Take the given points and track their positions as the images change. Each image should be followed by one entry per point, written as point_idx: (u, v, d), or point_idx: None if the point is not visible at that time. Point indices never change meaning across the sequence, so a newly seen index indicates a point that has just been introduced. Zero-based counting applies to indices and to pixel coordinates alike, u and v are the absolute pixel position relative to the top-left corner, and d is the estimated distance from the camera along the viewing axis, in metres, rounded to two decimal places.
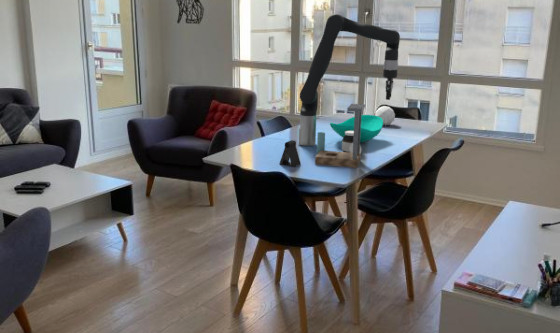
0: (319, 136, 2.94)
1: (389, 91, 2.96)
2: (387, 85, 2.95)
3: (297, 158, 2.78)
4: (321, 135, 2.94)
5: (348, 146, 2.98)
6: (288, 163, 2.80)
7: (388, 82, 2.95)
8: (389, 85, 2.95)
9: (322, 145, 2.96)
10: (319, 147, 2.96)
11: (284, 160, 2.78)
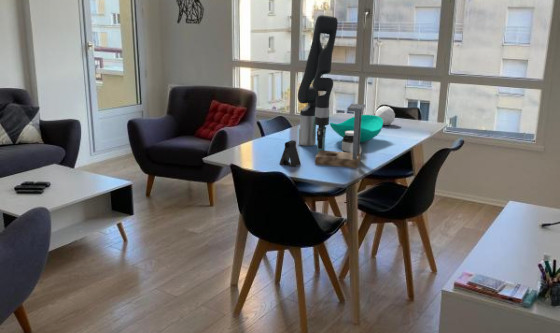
0: None
1: (320, 140, 2.92)
2: (318, 135, 2.90)
3: (297, 158, 2.78)
4: None
5: (348, 146, 2.98)
6: (288, 163, 2.80)
7: (318, 133, 2.89)
8: (320, 135, 2.90)
9: (322, 145, 2.96)
10: None
11: (284, 160, 2.78)
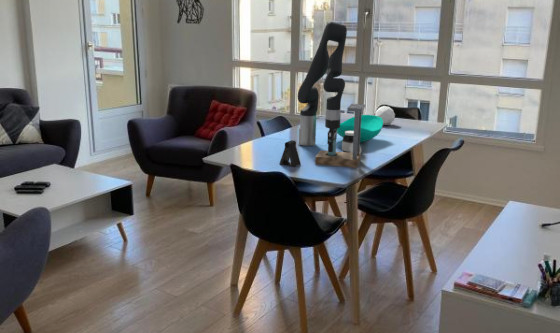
0: None
1: (331, 143, 2.76)
2: (328, 137, 2.75)
3: (297, 158, 2.78)
4: None
5: (348, 146, 2.98)
6: (288, 163, 2.80)
7: (329, 134, 2.74)
8: (330, 137, 2.75)
9: (333, 152, 2.82)
10: (330, 154, 2.82)
11: (284, 160, 2.78)
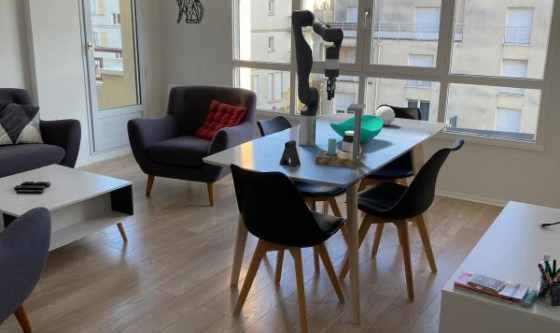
0: (330, 142, 2.80)
1: (330, 91, 2.84)
2: (327, 85, 2.83)
3: (297, 158, 2.78)
4: (332, 141, 2.80)
5: (348, 146, 2.98)
6: (288, 163, 2.80)
7: (328, 82, 2.83)
8: (330, 85, 2.83)
9: (333, 152, 2.82)
10: (330, 154, 2.82)
11: (284, 160, 2.78)
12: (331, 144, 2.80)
